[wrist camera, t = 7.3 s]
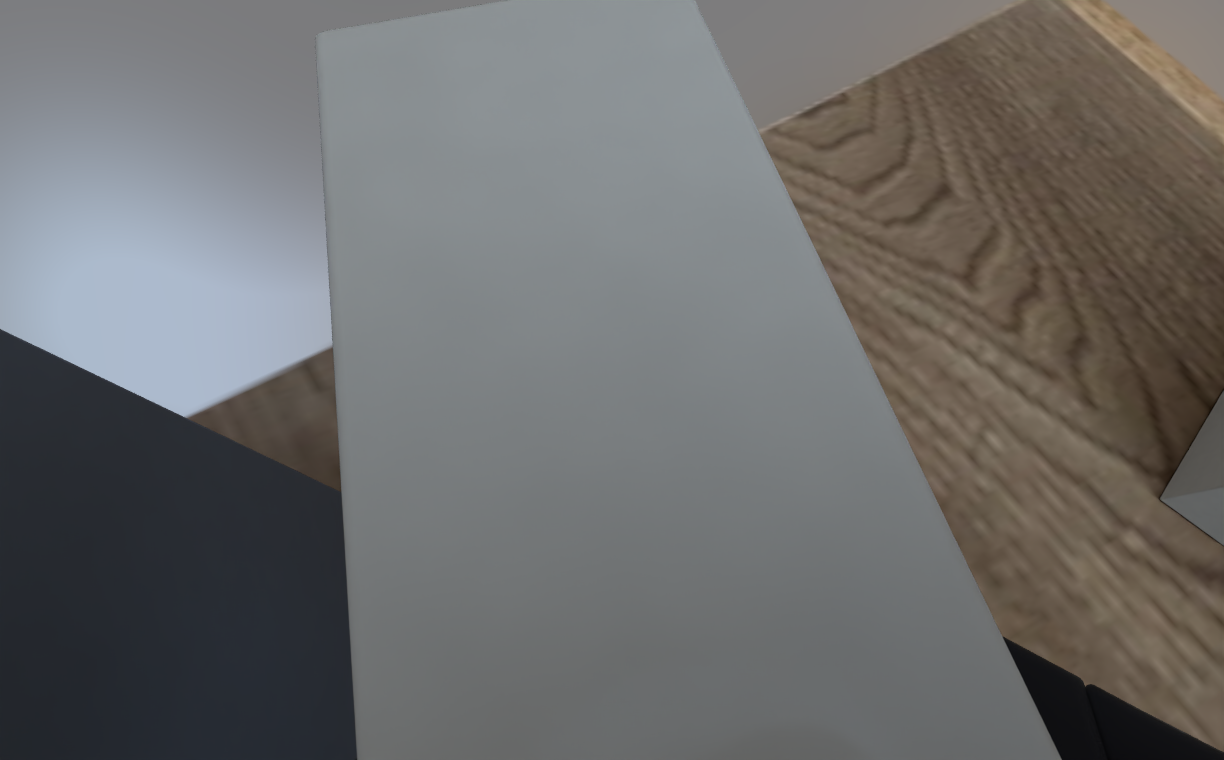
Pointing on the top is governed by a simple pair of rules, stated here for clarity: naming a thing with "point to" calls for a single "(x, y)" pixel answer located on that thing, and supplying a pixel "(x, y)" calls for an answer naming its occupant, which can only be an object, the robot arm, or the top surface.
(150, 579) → the grey books
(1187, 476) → the white books
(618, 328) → the white book
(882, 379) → the top surface
